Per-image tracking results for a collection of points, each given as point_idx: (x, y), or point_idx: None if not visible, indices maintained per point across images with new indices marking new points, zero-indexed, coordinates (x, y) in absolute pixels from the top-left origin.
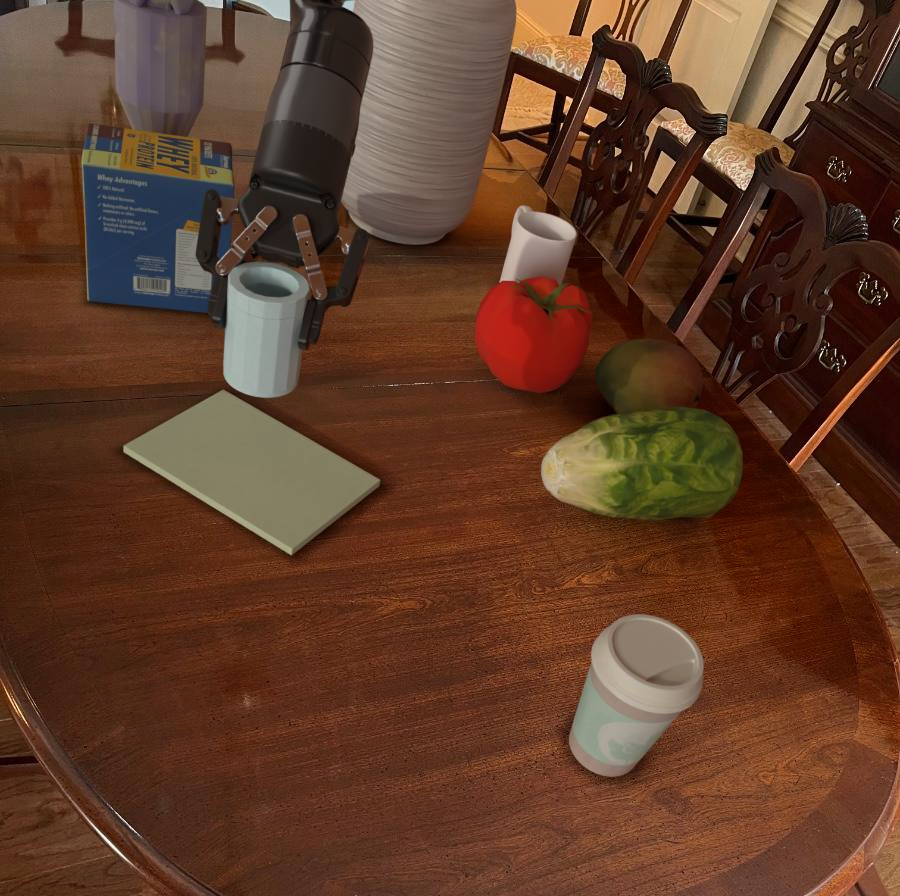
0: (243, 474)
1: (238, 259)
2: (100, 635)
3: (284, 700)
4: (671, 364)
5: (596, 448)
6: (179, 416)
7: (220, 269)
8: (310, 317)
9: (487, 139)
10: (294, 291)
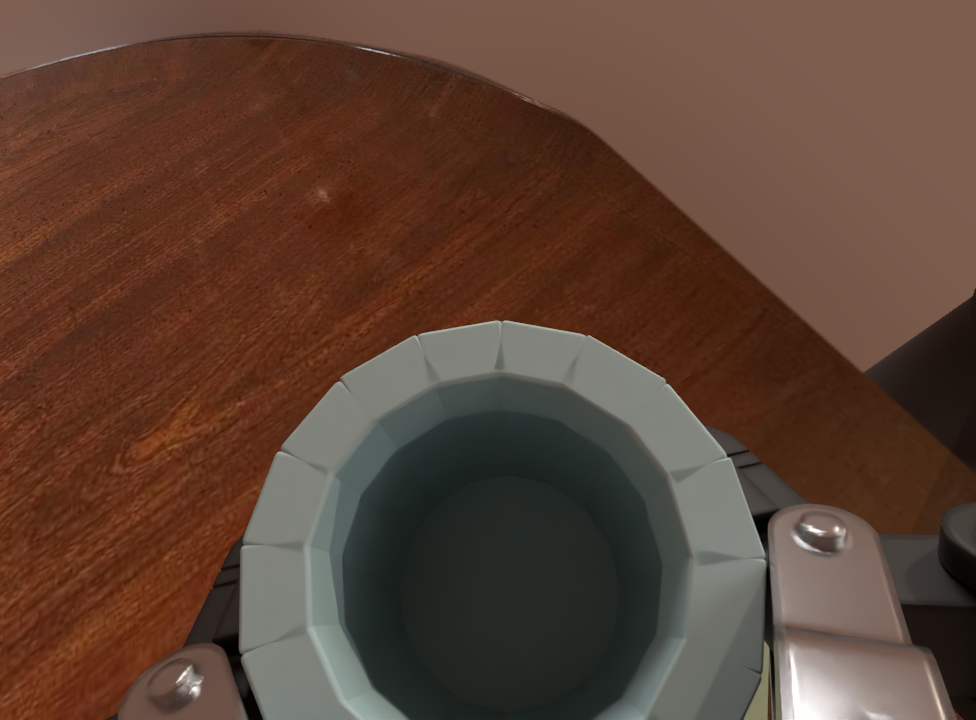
0: None
1: (787, 612)
2: (525, 191)
3: (282, 214)
4: None
5: None
6: (760, 705)
7: (820, 514)
8: None
9: None
10: (380, 700)
